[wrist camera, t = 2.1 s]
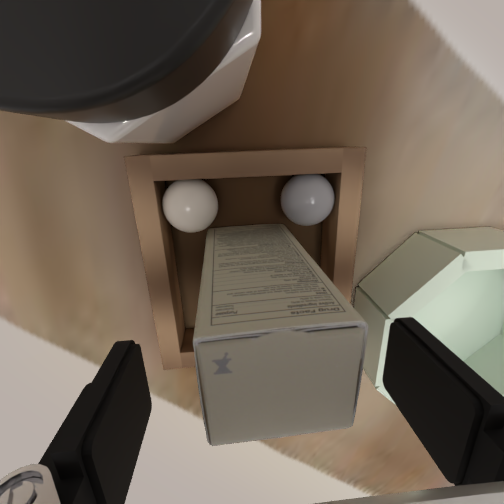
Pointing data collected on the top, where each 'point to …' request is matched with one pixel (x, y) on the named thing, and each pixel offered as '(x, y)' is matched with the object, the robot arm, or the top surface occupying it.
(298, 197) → the pebble
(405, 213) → the top surface
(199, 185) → the pebble
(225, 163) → the tray
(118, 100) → the jar
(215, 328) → the box
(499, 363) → the bowl
